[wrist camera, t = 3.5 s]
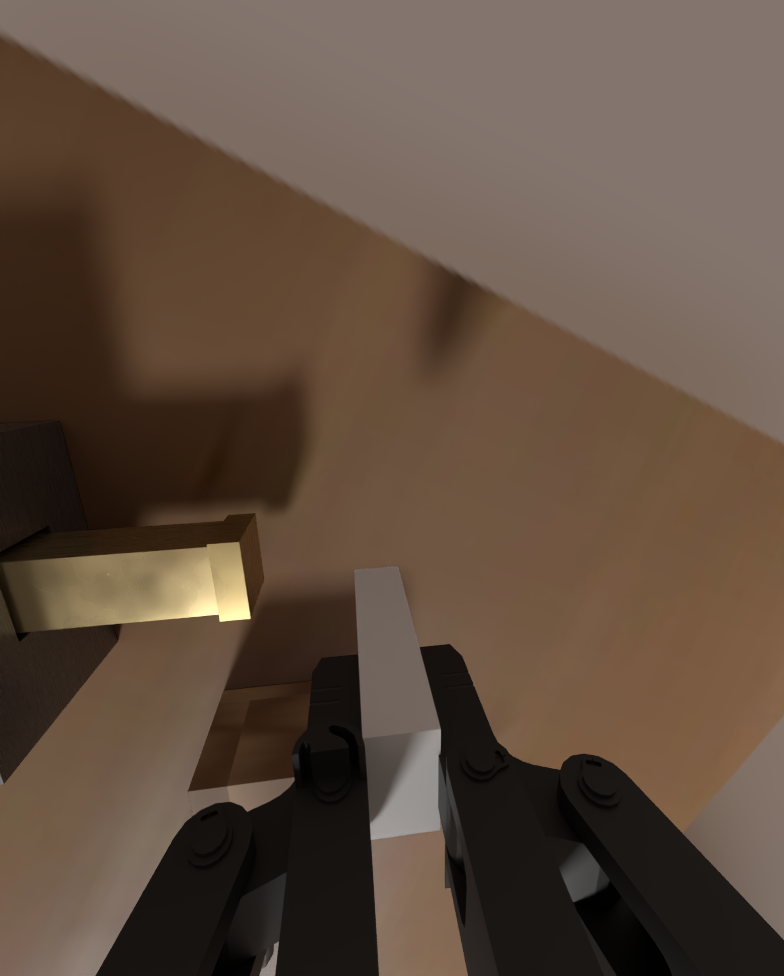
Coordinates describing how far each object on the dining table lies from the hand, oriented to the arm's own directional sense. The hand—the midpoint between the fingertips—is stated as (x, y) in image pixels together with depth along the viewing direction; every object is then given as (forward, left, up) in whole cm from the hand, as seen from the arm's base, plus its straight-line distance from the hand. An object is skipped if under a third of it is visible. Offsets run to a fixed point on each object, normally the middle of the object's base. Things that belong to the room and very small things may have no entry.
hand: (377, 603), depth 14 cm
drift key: (-10, 0, -6) cm, 11 cm away
